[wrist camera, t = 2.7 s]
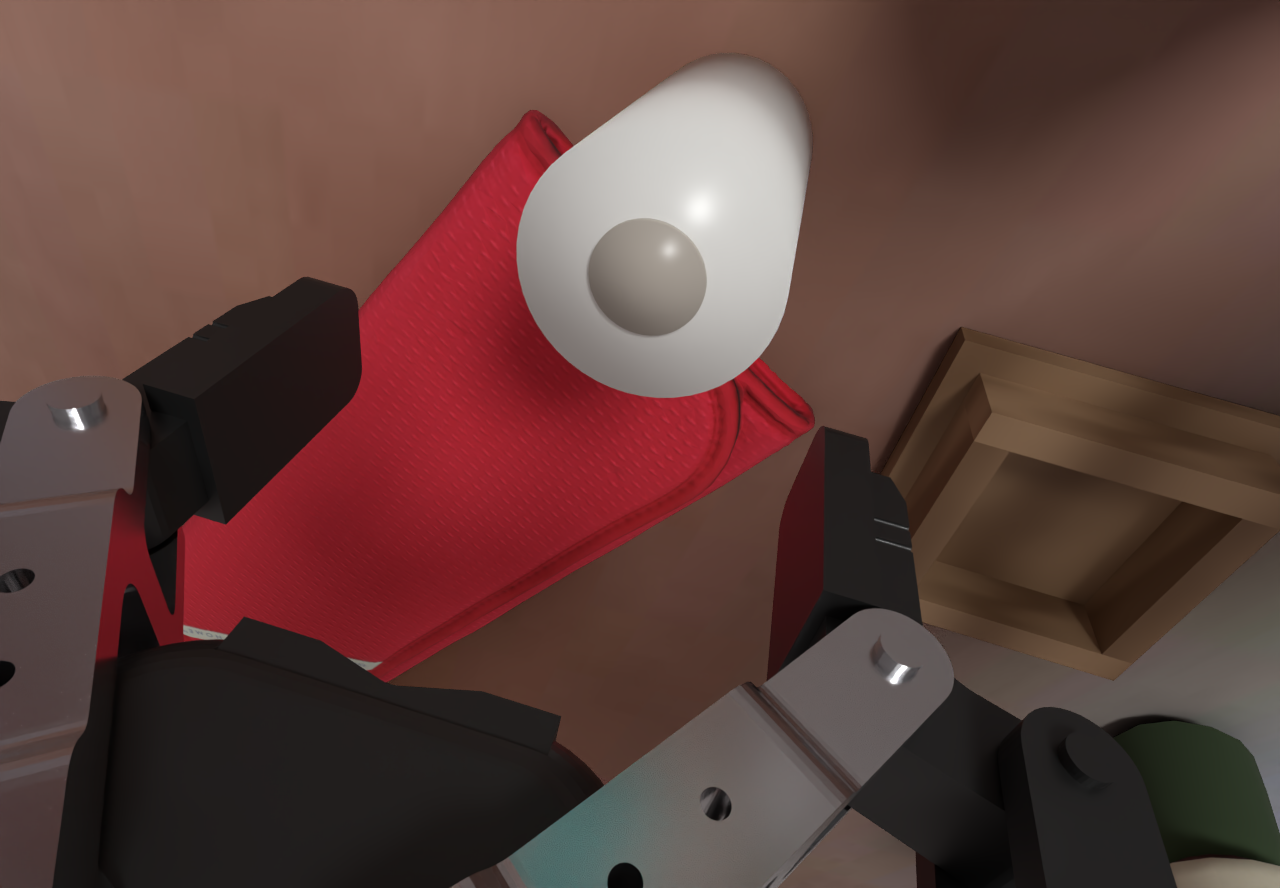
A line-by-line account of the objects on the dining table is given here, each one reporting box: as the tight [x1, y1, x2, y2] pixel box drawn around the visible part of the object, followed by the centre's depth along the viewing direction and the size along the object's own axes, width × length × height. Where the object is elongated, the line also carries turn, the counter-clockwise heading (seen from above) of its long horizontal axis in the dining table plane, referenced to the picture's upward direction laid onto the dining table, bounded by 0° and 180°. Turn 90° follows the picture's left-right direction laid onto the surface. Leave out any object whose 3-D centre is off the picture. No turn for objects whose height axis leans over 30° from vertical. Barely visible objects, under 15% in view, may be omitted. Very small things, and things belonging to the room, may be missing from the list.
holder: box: [880, 327, 1280, 681], centre depth 26 cm, size 12×12×4 cm
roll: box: [517, 53, 813, 398], centre depth 18 cm, size 6×6×11 cm
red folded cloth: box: [182, 110, 815, 682], centre depth 36 cm, size 16×41×4 cm, turn 135°
